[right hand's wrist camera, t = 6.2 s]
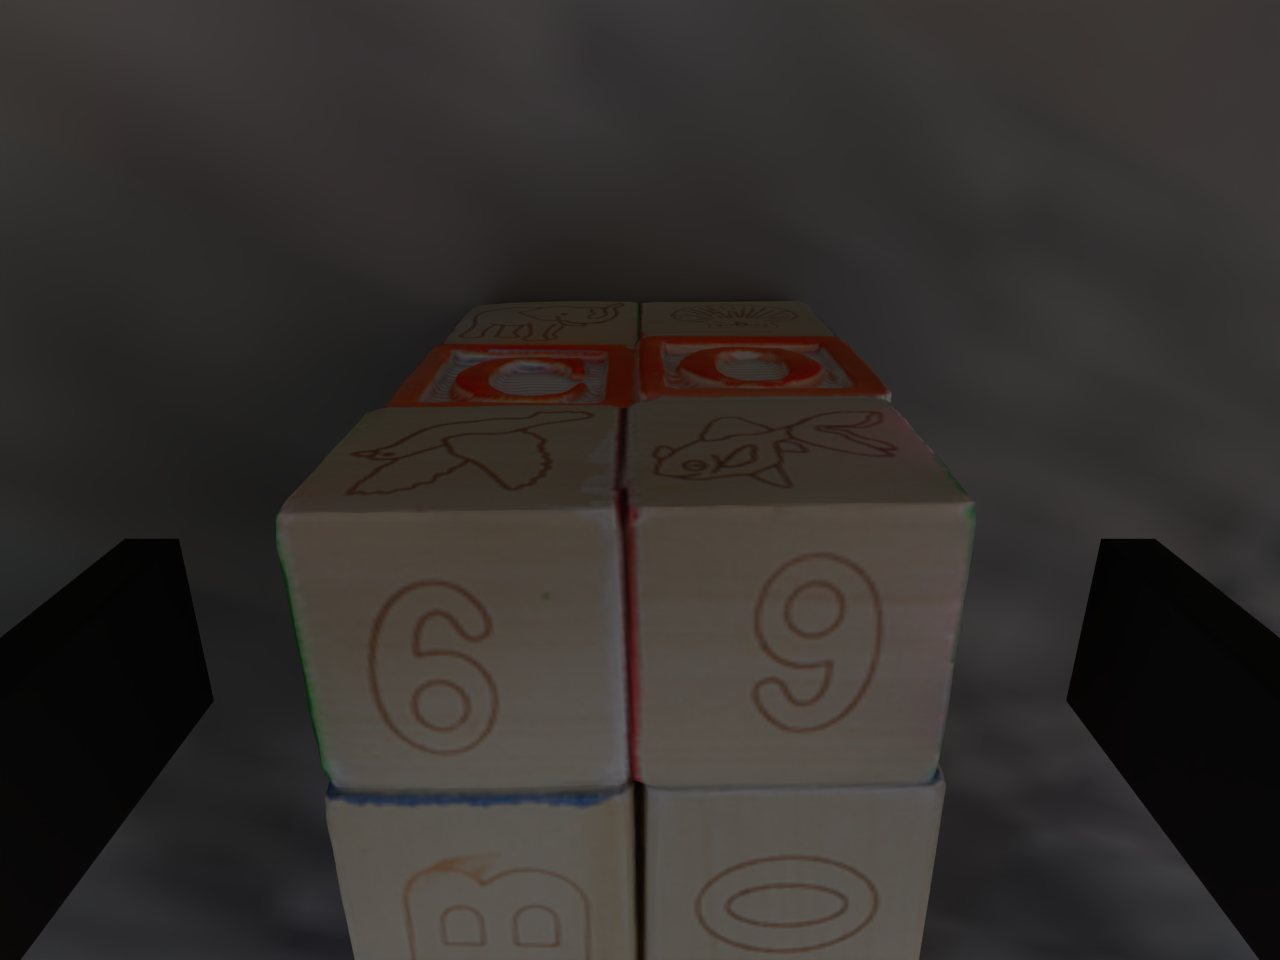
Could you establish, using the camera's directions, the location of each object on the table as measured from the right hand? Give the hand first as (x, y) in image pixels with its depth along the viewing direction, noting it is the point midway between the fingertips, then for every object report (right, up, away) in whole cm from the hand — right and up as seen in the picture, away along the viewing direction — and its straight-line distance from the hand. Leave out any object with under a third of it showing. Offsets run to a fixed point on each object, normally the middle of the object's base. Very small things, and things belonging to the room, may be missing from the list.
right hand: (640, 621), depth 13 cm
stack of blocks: (0, -4, +7) cm, 8 cm away
